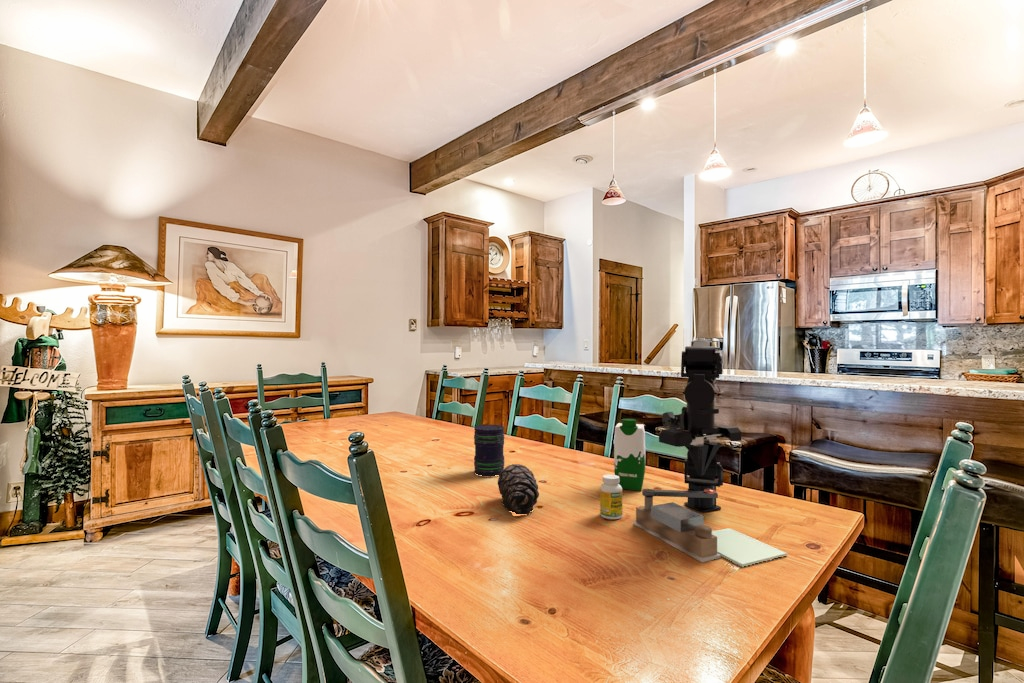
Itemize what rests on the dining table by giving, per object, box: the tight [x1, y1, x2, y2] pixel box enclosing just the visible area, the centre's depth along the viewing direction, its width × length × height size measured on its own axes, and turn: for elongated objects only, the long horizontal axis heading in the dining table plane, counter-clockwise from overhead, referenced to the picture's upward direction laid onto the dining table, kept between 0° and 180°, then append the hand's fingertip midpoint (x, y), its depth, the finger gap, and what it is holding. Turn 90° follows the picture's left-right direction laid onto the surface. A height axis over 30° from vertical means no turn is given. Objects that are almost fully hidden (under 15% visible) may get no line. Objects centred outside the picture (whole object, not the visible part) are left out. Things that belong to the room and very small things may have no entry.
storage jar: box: [473, 424, 505, 476], centre depth 154 cm, size 10×10×15 cm
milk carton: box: [613, 418, 646, 492], centre depth 139 cm, size 9×9×20 cm
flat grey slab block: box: [651, 501, 705, 532], centre depth 100 cm, size 6×9×2 cm, turn 23°
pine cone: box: [497, 463, 540, 516], centre depth 122 cm, size 10×18×10 cm, turn 15°
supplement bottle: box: [599, 474, 623, 520], centre depth 115 cm, size 5×5×10 cm
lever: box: [641, 488, 719, 499], centre depth 108 cm, size 16×3×2 cm, turn 84°
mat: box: [712, 527, 788, 568], centre depth 97 cm, size 12×14×1 cm
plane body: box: [632, 496, 722, 563], centre depth 101 cm, size 21×5×7 cm, turn 23°
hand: (700, 474), depth 104 cm, fingers closed
